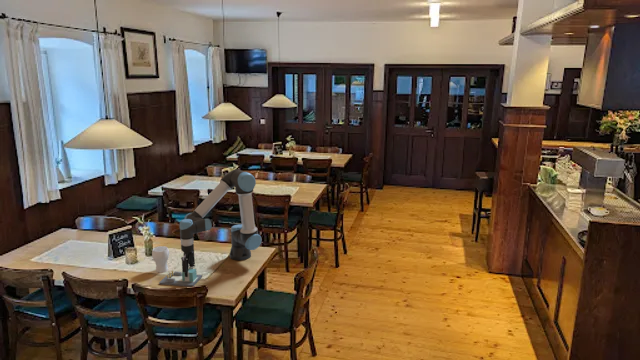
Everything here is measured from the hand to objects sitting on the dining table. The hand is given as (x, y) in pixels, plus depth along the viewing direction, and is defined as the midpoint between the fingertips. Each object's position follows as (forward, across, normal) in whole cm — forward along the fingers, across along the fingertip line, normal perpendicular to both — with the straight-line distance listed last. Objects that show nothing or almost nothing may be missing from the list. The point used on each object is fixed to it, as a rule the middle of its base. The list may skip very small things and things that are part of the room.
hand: (189, 278), depth 280 cm
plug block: (+1, 0, 0) cm, 1 cm away
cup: (+2, -12, -25) cm, 28 cm away
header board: (+2, 0, -6) cm, 6 cm away
